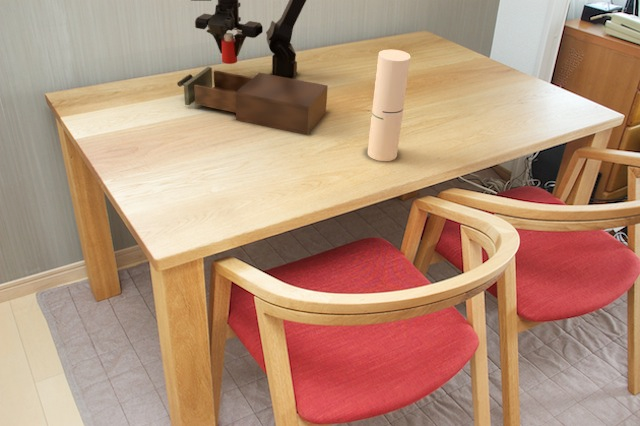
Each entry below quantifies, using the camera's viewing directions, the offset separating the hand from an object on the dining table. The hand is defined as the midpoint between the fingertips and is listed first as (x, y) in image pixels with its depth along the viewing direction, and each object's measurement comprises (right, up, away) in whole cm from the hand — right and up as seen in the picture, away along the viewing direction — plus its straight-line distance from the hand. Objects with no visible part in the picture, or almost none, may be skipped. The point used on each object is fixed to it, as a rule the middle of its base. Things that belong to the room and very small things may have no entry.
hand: (229, 54), depth 191 cm
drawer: (-1, -15, -13) cm, 20 cm away
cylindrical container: (+42, -32, -31) cm, 61 cm away
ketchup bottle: (0, -2, +1) cm, 2 cm away
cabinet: (+16, -20, -16) cm, 31 cm away
